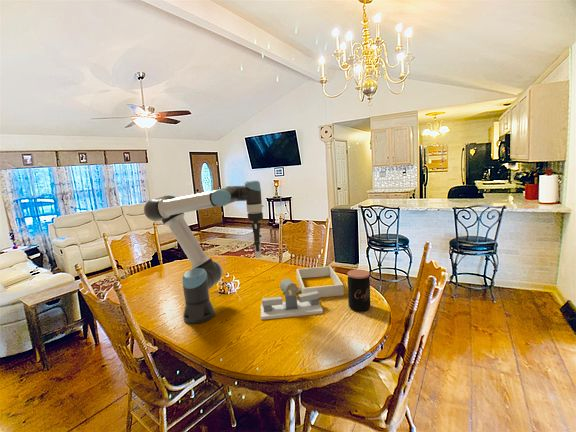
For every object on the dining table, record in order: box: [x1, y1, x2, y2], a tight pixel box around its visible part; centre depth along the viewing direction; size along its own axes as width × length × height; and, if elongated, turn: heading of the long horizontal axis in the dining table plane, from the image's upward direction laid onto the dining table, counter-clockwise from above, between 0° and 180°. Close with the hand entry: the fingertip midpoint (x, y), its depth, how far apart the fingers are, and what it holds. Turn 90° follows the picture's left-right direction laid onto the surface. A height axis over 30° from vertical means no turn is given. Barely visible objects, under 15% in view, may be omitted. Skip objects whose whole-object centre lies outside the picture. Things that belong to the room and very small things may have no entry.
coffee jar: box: [346, 268, 371, 313], centre depth 155 cm, size 11×11×18 cm
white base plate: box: [260, 291, 324, 321], centre depth 159 cm, size 30×14×7 cm, turn 95°
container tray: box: [296, 265, 345, 299], centre depth 187 cm, size 22×32×6 cm
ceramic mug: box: [279, 278, 301, 293], centre depth 180 cm, size 11×8×8 cm
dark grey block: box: [284, 290, 298, 310], centre depth 158 cm, size 6×6×8 cm
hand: (258, 253), depth 160 cm, fingers open, 13 cm apart
